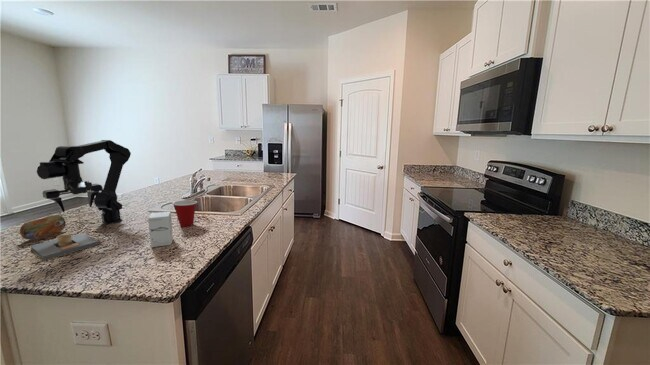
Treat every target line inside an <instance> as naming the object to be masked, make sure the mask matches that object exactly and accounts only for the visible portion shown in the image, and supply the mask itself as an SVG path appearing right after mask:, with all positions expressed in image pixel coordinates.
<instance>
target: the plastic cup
mask: <svg viewBox="0 0 650 365" xmlns="http://www.w3.org/2000/svg"><path fill="white" fill-rule="evenodd" d="M197 203H198V201H196V200H179V201H173V202H172V205H173V207H174V210H175V214H176V217H177V221H178V223H179V226H180V227H181V228H182V227H184V228H186V227H191V226H194V220H195V214H196V213H195V212H196V211H195V210H196V206H197Z"/></svg>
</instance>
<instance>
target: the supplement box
mask: <svg viewBox="0 0 650 365" xmlns="http://www.w3.org/2000/svg"><path fill="white" fill-rule="evenodd" d="M147 220H148V229H149V231H148V232H149V240H150V247H151V248H155V247H162V246H163V247H165V246H171V245H172V244H173V238H174V236H173V224H172V212H171V211H162V212H152V213H151V212H150V215H149V216H148V218H147Z"/></svg>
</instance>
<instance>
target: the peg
mask: <svg viewBox="0 0 650 365" xmlns="http://www.w3.org/2000/svg"><path fill="white" fill-rule="evenodd" d="M71 236H72V233H61V234H59V235H57V236H56V239H57V240H58V246H59V247H62V246H66V245H70V244H73V243H72V238H71ZM59 247H58V248H59Z"/></svg>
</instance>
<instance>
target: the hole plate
mask: <svg viewBox="0 0 650 365" xmlns="http://www.w3.org/2000/svg"><path fill="white" fill-rule="evenodd" d="M71 238H72V244H70V245H66V246H62V247H59V246H58V240H57V238H56V239H52V240H49V241H45V242H41V243H37V244H34V245H33V244H32V245H30V249H31V251H32V252H34V253H35V254H36V255H37V256H38V257H39V258H40V259H42V260H43V261H46V260H47V261H48V260H50V259H53V258H56V257H57V258H58V257H60V256H64V255H67V254H70V253H74V252H77V251H81V250H84V249H87V248H92V247H95V246H99V245H100V243H99V241H98V240H97V239H96V238H93V237H92V236H90V235H88V234H87V233H84V232H81V233H78V234H73V235H72V234H71Z"/></svg>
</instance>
